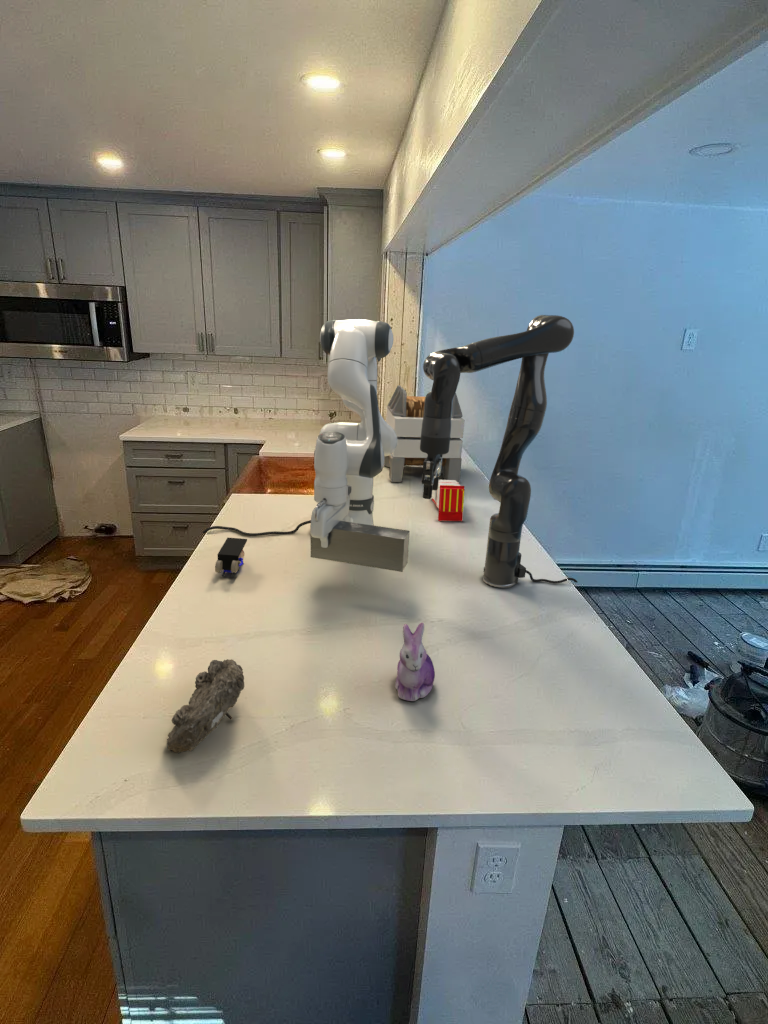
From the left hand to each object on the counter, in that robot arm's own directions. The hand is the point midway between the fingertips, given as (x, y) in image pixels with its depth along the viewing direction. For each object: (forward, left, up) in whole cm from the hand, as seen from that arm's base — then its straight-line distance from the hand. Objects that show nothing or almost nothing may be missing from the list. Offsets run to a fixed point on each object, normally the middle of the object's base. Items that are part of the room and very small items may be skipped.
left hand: (330, 541), depth 156 cm
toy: (+19, +78, -14) cm, 81 cm away
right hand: (+26, +6, +15) cm, 31 cm away
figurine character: (-30, 0, -14) cm, 33 cm away
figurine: (+33, -37, -14) cm, 52 cm away
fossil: (-1, -58, -14) cm, 60 cm away
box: (+9, 0, -4) cm, 9 cm away
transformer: (-2, +125, -14) cm, 126 cm away
